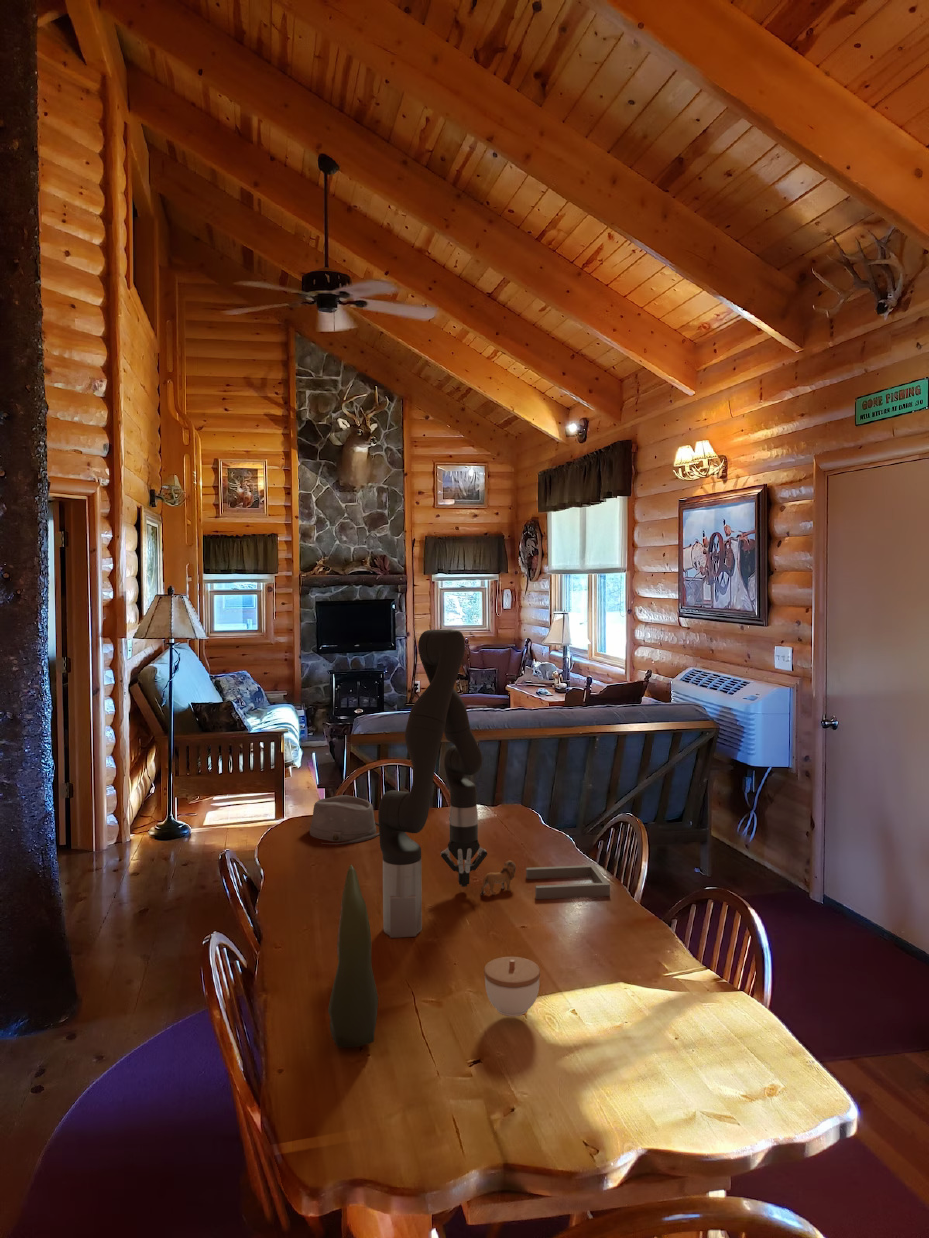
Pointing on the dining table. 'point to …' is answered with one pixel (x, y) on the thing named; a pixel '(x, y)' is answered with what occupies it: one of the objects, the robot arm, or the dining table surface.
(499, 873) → the lion figurine
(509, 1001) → the lidded jar
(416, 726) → the robot arm
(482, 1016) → the dining table surface
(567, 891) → the bay
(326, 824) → the fedora
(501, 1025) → the dining table surface
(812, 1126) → the dining table surface
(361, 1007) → the tentacle
